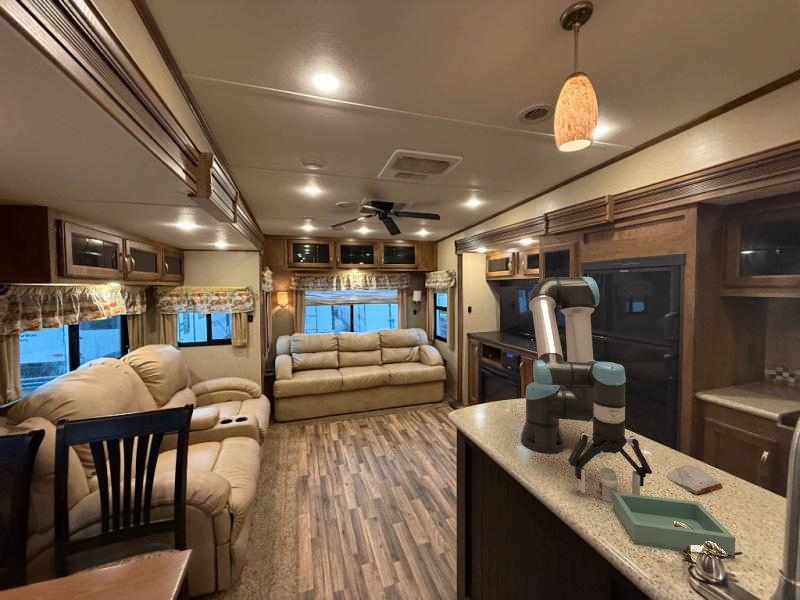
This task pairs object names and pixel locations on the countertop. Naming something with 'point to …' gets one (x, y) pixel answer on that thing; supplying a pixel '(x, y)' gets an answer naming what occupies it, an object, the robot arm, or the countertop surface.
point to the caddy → (669, 523)
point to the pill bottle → (607, 484)
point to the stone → (693, 479)
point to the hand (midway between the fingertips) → (608, 493)
